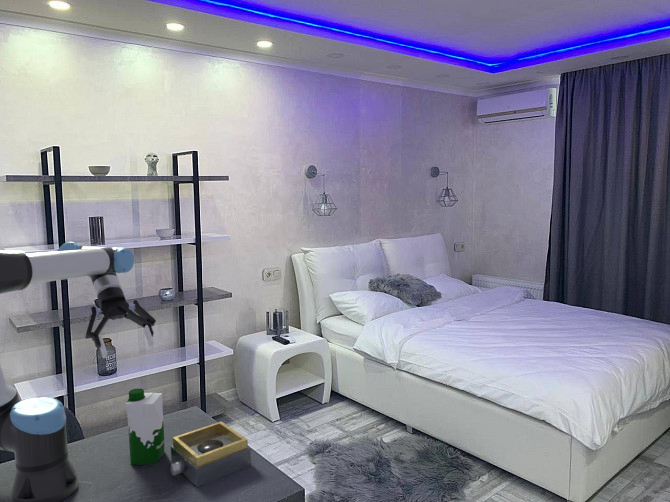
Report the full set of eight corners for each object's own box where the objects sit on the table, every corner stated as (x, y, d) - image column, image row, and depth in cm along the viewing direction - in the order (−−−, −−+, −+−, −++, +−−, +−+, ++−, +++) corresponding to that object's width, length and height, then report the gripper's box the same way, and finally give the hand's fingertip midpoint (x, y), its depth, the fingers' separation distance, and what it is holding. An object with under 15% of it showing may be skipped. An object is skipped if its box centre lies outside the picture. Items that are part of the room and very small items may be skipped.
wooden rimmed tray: (185, 491, 132) (184, 463, 131) (160, 466, 144) (159, 441, 143) (251, 465, 144) (250, 439, 143) (223, 444, 156) (221, 420, 155)
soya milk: (138, 450, 153) (134, 385, 151) (168, 450, 153) (165, 385, 150) (125, 466, 144) (121, 397, 142) (158, 466, 144) (154, 397, 142)
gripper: (146, 294, 173) (167, 348, 164) (64, 306, 157) (82, 367, 148) (151, 280, 168) (173, 335, 159) (67, 291, 152) (85, 353, 143)
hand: (129, 350), depth 153 cm, fingers open, 13 cm apart
